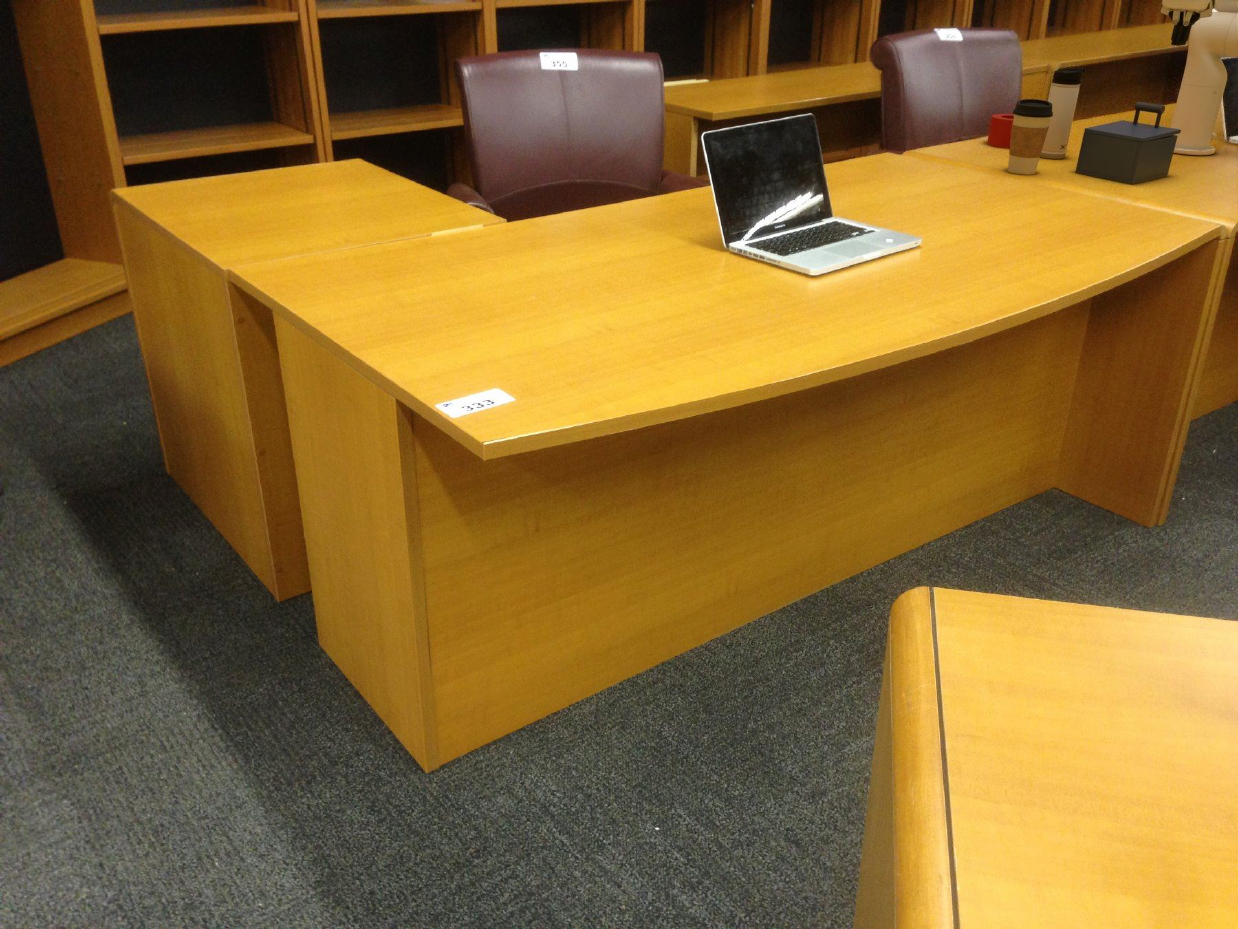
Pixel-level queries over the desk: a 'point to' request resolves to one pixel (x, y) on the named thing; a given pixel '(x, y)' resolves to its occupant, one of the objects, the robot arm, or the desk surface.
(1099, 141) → the dark grey hollow box
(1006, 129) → the lever
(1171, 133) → the lid
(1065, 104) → the travel mug
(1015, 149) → the coffee cup
